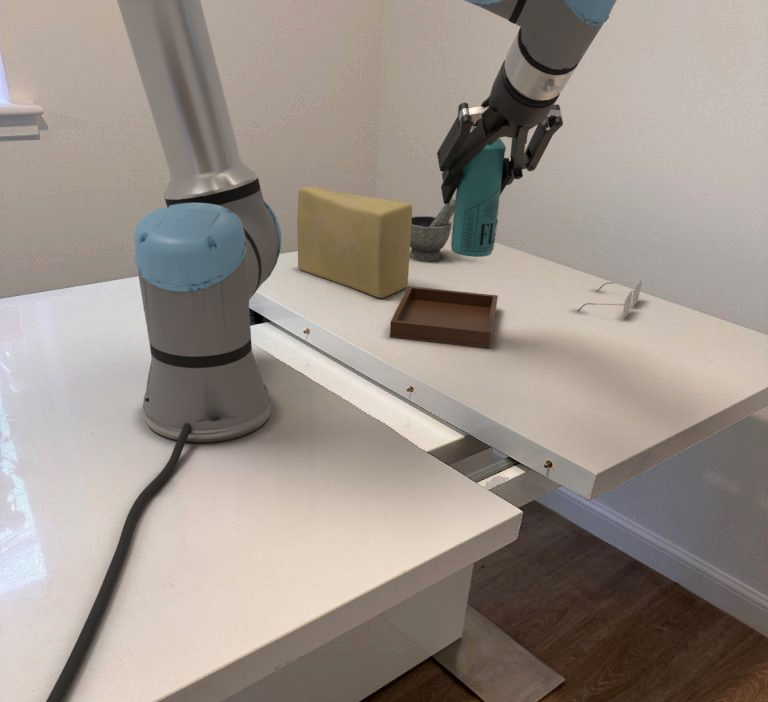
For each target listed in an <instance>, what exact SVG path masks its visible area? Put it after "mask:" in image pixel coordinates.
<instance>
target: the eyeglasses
mask: <svg viewBox="0 0 768 702" xmlns="http://www.w3.org/2000/svg"><path fill="white" fill-rule="evenodd" d="M608 284H610V285H611V284H615V282H606V283H603V284H602V285H601V286H600V287H599V288H598V289H597V290H596V292H597V293H598V292H599V291H600V290H601V289H602V288H603V287H604V286H605V285H608ZM622 284H623V285H624V284H625V285H627V284H628V285H631V284H632V285H633V284H634V285H635V287H634V289H633V290H630V292H629V293H628V295H627V296H625V299H624V303H597V306H598V305H600V306H601V305H602V306H623V313H622V318H623V319H625V318H626V317H627V316H628V314H629V311H630V309H631V303H632V306H635V305H637V303H638V301H639V298H640V293H641V288H642V285H643V282H642V280H641V279H640V280H639V281H638V282H621V285H622ZM586 305H595V303H591V302H590V303H589V302H587V303H584V304H583V305H582V306H580V308H578V310H576V312H580V311H581V310H582V308H583V307H584V306H586Z"/></svg>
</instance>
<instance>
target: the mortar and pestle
mask: <svg viewBox="0 0 768 702" xmlns="http://www.w3.org/2000/svg"><path fill="white" fill-rule="evenodd" d="M454 199H455V198H452V199H451V200H450V202H449V204H443V207H442V208H441V209H440V210H439V212H438V214H437V215H436V216H432V215H415V216H412V224H411V239H410V255H409V258H412V259H414V260H417V261H422V262H433V261H437V260H440V257H441V250H442V249H443V248H444V246H445V245H446V244H447V242H448V240H449V238H450V236H451V232H452V223H453V221H450V220H451V219H452V217H453V215H454V214H453V213H454V212H453V209H455V205H454V204H455V200H454Z"/></svg>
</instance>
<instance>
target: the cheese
mask: <svg viewBox="0 0 768 702" xmlns="http://www.w3.org/2000/svg"><path fill="white" fill-rule="evenodd" d="M297 199H298V200H297V217H296V219H297V221H296V228H297V229H296V230H297V232H296V235H297V267H298V269H299V270H300V271H302V272H305V273H308V274H311V275H314V276H318V277H320V278H323V279H326V280H329V281H332V282H335V283H337V284H341V285H344V286H347V287H349V288H352V289H355V290H357V291H361V292H362V293H364V294H368V295H371V296H373V297H376V298H378V299H383V298H386V297H389V296H391V295H393V294H395V293H397V292H399V291H401V290H404V289H405V288H406V287H408V285H409V270H410V269H409V268H410V254H411V247H410V239H411V224H412V217H413V206H412V204H411V203H407V202H401V201H396V200H391V199H384V198H379V197H373V196H366V195H359V194H358V195H357V194H351V193H344V192H338V191H334V190H333V191H332V190H328V189H324V188H319V187H315V186H305V187H301V188H299V190H298V196H297Z"/></svg>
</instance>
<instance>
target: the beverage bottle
mask: <svg viewBox="0 0 768 702" xmlns="http://www.w3.org/2000/svg"><path fill="white" fill-rule="evenodd" d="M478 121H479V120H477V122H476V124H475V125H474V126H475V127H476V126H477V125H478ZM506 151H507V146H506V145H505V143H504V142H503V140H502V139H501V137H500V138H498V139H497V140H496V141H495V142H494V143H493V144H492V145H487V146H486V147H484V148H483V149H482V150H481V151H480V152H479V153H478V154H477V155H476V156H475V157H474V158H473V159H472V160H471V161H470V162H469V163H468V164H467V165H466V166H465V167H464V168H463V169H462V172H463V177H462V179H461V181H460V183H459V185H458V187H457V189H456V191H455V198H453V199H454V200H455V204H454V205H455V209H453V212H454V213H453V215H452V217H453V219H452V223H451V225H452V229H451V232H450V238H451V239H450V240H451V242H450V246H451V248H450V249H451V251H452V252H453V253H454V254H457V255H460V256H464V257H470V258H471V257H472V258H480V257H481V258H484V257H489V256H491V255H492V253H493V252H494V248H495V246H496V244H495V243H496V242H495V241H496V236H497V232H498V220H499V219H498V216H499V209H500V208H499V207H500V197H501V195H502V193H500V191H501V189H502V188H501V187H502V186H501V184H502V183H501V182H502V178H503V177H502V172H503V164H504V158H505V154H506ZM500 194H501V195H500Z"/></svg>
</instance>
